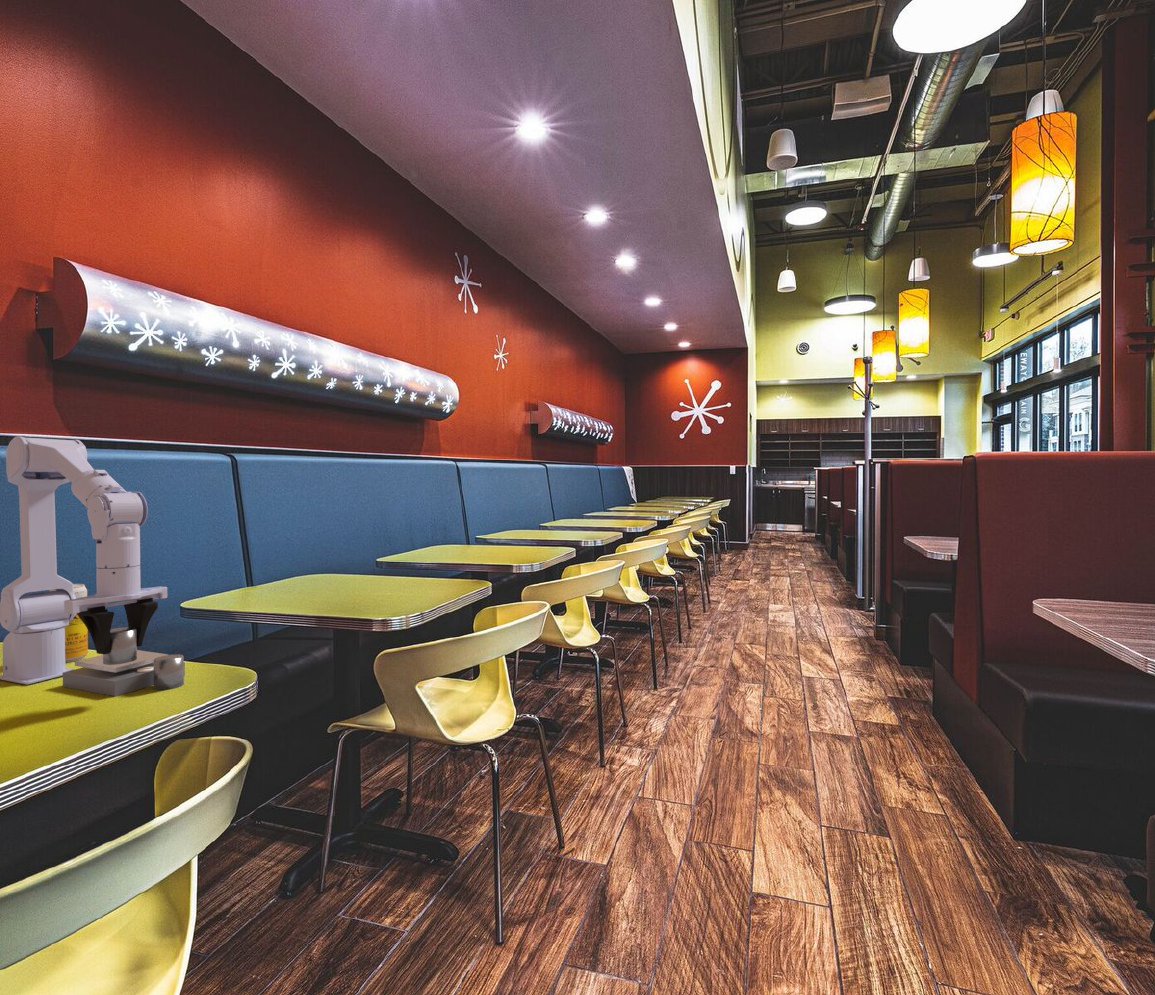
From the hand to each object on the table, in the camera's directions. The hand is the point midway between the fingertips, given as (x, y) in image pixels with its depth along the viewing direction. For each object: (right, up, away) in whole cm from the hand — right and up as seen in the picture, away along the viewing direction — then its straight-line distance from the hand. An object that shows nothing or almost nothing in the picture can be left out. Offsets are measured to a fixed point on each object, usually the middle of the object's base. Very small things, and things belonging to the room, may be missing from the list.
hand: (119, 649), depth 99 cm
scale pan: (-7, -5, +10) cm, 14 cm away
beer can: (-29, -8, +24) cm, 38 cm away
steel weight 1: (0, -2, 0) cm, 2 cm away
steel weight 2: (+3, -8, +8) cm, 12 cm away
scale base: (-6, -8, +10) cm, 14 cm away
